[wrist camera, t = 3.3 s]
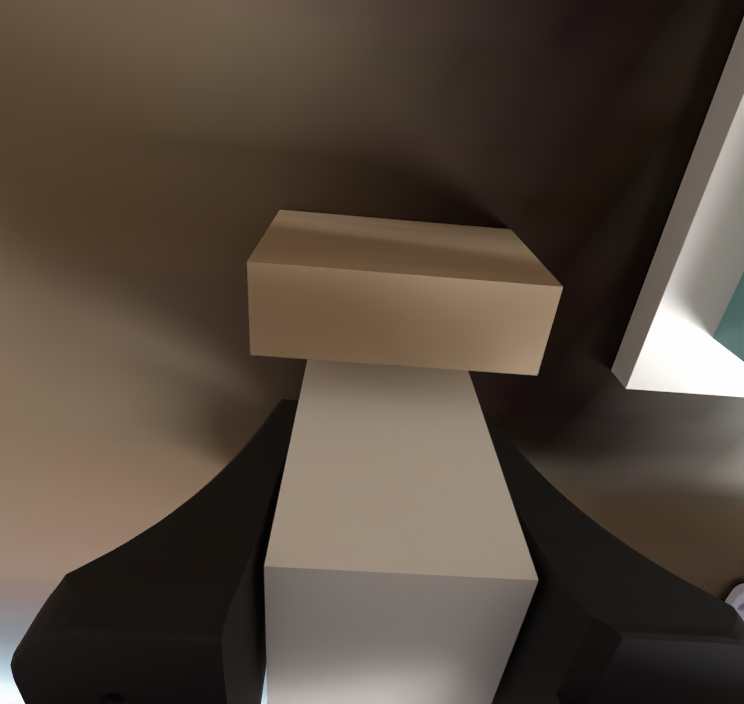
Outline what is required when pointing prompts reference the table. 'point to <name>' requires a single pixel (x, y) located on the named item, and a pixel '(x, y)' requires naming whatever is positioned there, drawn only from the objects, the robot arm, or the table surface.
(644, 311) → the port
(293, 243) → the wooden pieces
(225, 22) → the table surface
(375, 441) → the plug
